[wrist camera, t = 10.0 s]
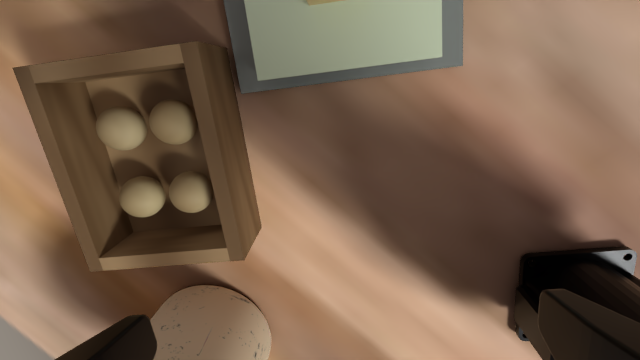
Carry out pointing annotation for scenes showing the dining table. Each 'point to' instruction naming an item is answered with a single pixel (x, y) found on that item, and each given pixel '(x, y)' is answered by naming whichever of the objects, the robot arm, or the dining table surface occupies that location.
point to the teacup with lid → (210, 326)
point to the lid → (340, 34)
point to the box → (147, 154)
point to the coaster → (250, 83)
